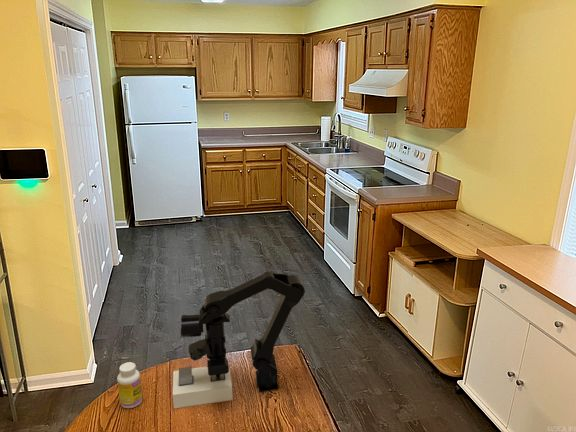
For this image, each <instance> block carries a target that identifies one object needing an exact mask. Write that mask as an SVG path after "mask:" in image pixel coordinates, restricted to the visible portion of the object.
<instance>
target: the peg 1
mask: <svg viewBox="0 0 576 432" xmlns="http://www.w3.org/2000/svg"><path fill="white" fill-rule="evenodd" d="M192 369H193V366H192V365H191V366H185V367H178V370H179V385H180V386H185V385H192V384H193V378H192Z"/></svg>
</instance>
